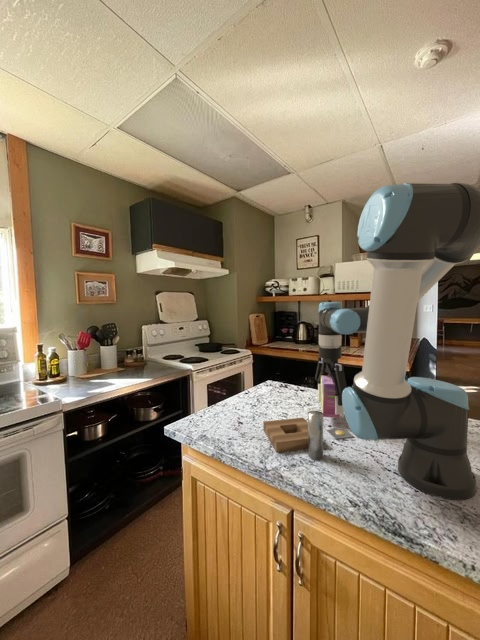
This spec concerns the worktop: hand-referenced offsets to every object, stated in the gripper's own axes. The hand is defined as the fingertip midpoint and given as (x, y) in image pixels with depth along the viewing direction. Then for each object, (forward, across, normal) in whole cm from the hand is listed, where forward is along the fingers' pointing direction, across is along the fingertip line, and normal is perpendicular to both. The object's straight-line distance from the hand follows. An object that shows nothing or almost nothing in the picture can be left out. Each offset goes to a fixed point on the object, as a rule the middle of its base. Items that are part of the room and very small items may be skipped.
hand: (330, 407), depth 99 cm
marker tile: (+5, -10, +2) cm, 11 cm away
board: (+5, -9, +18) cm, 21 cm away
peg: (+5, -20, +15) cm, 26 cm away
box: (+2, 0, 0) cm, 2 cm away
